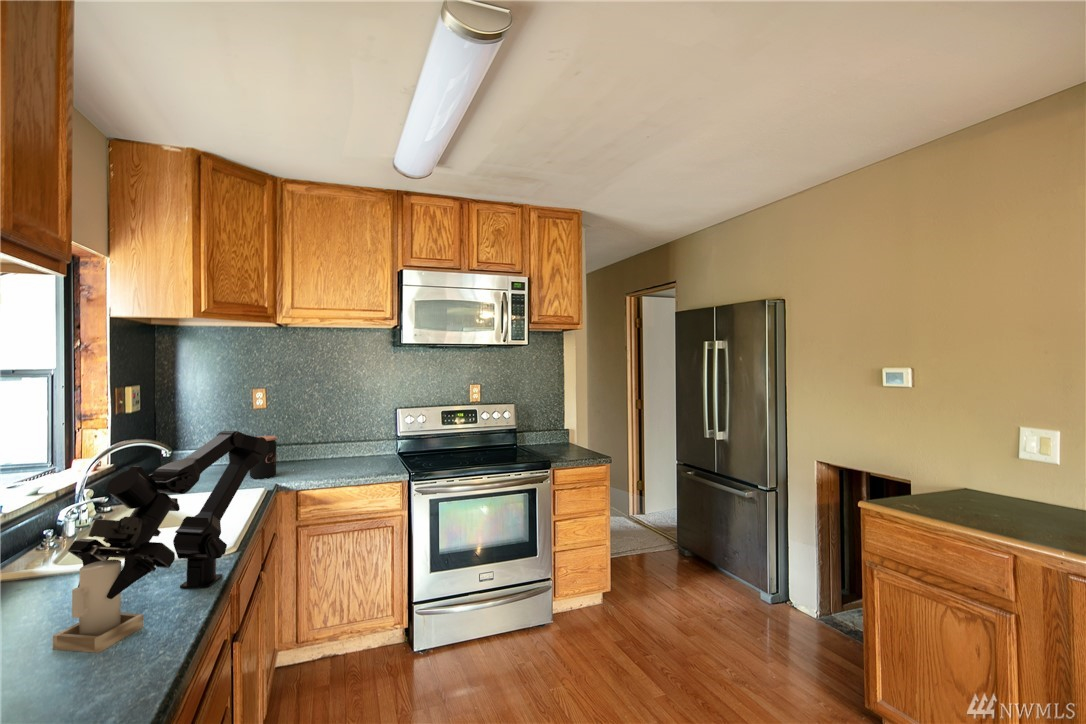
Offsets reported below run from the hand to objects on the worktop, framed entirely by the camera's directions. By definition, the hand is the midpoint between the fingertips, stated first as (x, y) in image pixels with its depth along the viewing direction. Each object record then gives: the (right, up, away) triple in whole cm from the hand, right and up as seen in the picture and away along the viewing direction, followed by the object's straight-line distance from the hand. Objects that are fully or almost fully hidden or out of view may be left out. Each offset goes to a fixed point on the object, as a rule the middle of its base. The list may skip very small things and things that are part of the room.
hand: (93, 597), depth 97 cm
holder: (0, -8, +1) cm, 8 cm away
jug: (0, -7, +1) cm, 7 cm away
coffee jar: (-44, -9, +140) cm, 147 cm away
